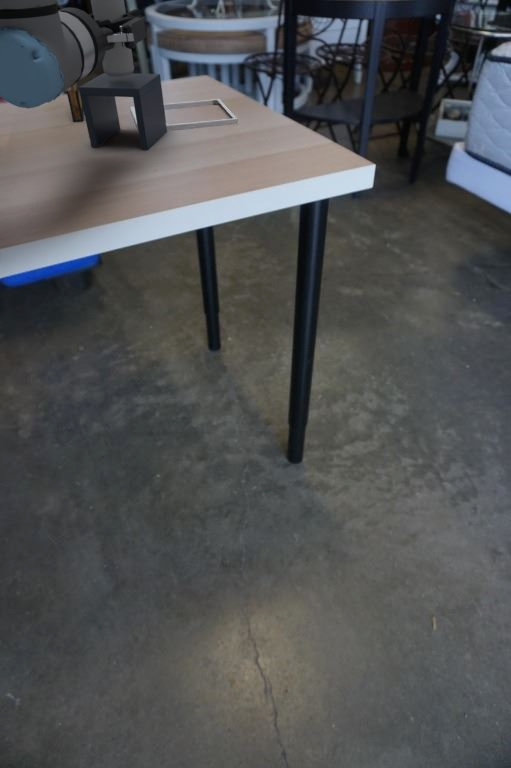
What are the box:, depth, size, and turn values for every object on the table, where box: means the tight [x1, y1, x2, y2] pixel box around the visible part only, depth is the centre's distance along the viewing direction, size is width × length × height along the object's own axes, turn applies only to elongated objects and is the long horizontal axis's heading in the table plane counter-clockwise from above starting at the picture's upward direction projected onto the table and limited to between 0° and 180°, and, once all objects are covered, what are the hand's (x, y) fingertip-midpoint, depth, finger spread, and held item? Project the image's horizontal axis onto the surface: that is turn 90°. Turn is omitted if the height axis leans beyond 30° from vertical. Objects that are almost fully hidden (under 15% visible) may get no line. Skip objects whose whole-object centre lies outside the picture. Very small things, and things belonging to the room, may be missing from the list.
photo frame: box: [129, 98, 239, 132], centre depth 101 cm, size 15×1×18 cm
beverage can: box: [90, 0, 135, 77], centre depth 81 cm, size 5×5×12 cm
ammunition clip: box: [66, 81, 85, 123], centre depth 100 cm, size 11×2×12 cm, turn 13°
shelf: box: [79, 72, 168, 151], centre depth 89 cm, size 10×10×9 cm
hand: (121, 19), depth 85 cm, fingers closed on beverage can, 5 cm apart
